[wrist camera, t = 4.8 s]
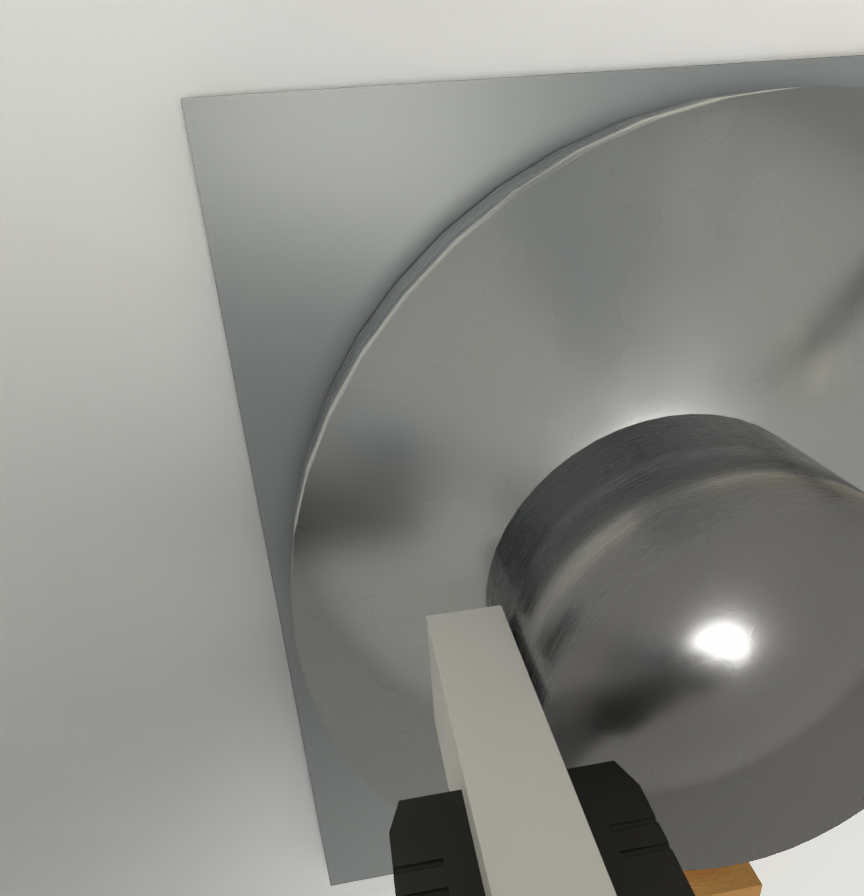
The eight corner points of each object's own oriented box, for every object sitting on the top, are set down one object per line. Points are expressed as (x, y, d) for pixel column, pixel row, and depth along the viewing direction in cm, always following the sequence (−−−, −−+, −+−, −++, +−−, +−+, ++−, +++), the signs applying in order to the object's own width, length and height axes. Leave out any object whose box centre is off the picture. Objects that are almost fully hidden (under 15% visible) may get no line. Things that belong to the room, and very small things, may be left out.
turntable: (367, 1000, 23) (372, 1090, 21) (213, 127, 12) (191, 126, 10) (922, 882, 25) (979, 953, 23) (1210, 59, 14) (1368, 47, 12)
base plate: (329, 860, 22) (330, 885, 21) (187, 99, 13) (180, 98, 12) (946, 744, 24) (966, 763, 23) (1181, 37, 15) (1224, 32, 15)
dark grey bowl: (495, 743, 17) (545, 907, 13) (473, 445, 14) (531, 558, 10) (802, 682, 18) (926, 821, 14) (852, 387, 15) (1031, 472, 11)
